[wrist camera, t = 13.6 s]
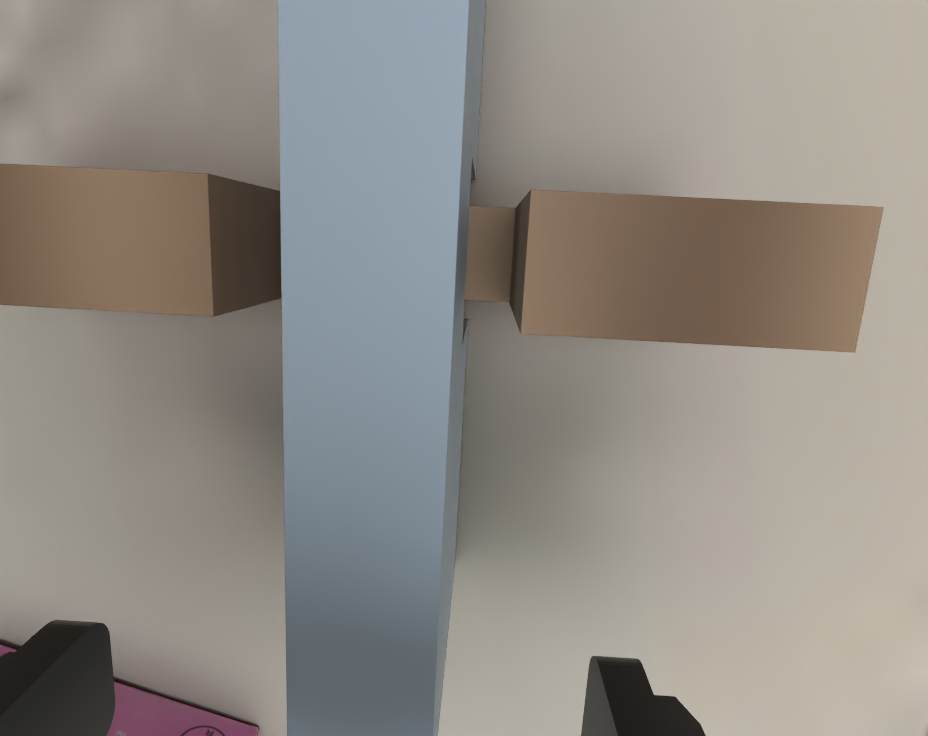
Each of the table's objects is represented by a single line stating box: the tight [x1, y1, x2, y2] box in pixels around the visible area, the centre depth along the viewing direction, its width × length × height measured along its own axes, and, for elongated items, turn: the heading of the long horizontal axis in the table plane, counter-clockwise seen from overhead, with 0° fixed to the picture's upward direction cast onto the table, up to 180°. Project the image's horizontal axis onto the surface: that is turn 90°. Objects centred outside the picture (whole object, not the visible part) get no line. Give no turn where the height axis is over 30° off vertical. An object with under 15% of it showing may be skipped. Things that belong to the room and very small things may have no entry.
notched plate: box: [278, 0, 486, 736], centre depth 13 cm, size 20×2×9 cm, turn 177°
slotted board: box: [0, 164, 883, 352], centre depth 13 cm, size 18×2×9 cm, turn 87°
